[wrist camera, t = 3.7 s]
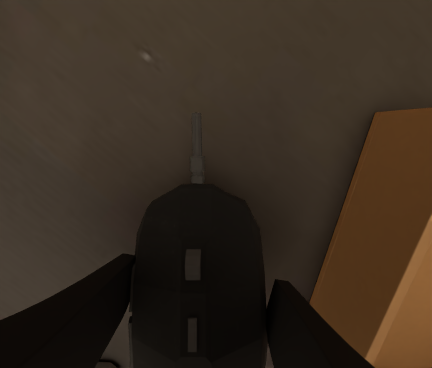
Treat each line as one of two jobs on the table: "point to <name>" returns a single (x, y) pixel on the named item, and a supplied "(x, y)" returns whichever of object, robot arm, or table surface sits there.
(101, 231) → the table surface
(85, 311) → the robot arm
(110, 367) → the walkie-talkie
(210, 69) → the table surface
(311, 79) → the table surface
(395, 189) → the carton
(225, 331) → the gaming mouse
